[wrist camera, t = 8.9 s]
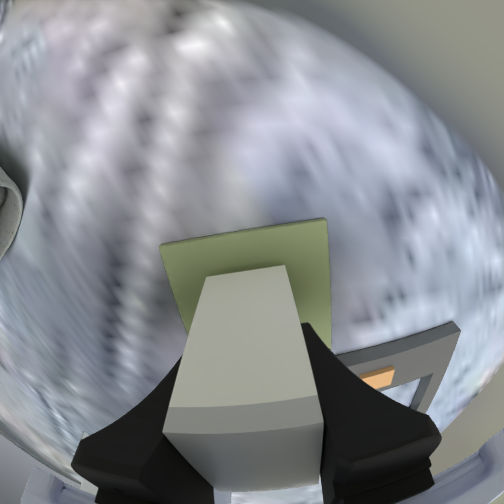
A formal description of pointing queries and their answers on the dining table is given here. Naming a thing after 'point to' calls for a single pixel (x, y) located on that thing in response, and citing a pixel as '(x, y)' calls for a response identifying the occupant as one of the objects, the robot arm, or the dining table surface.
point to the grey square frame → (407, 362)
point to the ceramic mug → (9, 211)
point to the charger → (247, 388)
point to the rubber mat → (257, 266)
